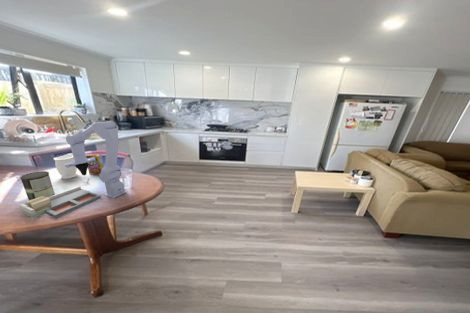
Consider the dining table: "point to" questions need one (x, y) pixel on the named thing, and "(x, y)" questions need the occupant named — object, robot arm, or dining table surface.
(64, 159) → the jar
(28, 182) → the coffee can
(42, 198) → the maple block
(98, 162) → the candy box
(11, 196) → the dining table surface
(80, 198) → the board
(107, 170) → the robot arm
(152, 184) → the dining table surface
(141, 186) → the dining table surface
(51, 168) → the dining table surface
